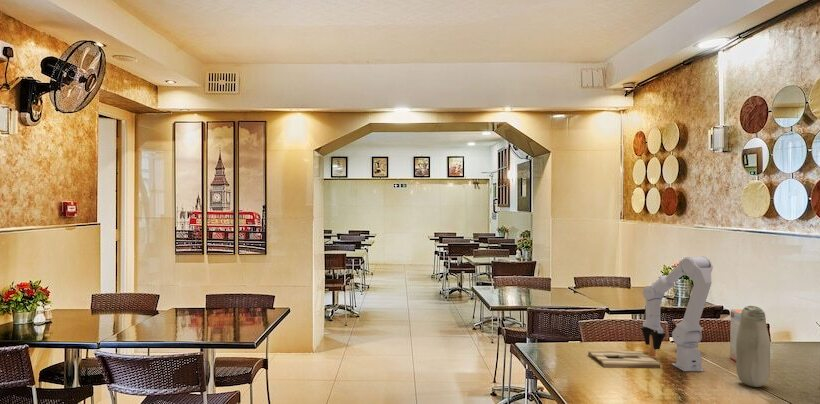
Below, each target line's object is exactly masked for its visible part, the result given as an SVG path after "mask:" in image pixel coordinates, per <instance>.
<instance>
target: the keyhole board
mask: <svg viewBox="0 0 820 404" xmlns="http://www.w3.org/2000/svg"><path fill="white" fill-rule="evenodd" d="M587 351H588V352H587V356H588V357H590V358H595V359H597V360H598V361H599V362H601V366H602V367H603V368H618V369H619V368H622V369H623V368H624V369H626V368H627V369H633V368H634V369H661V363H660V362H659V361H658V360H656V359H655V358H651V357H649V356H647V354H645V353H643V352H642V351H640V350H639V351H638V350H637V351H636V350H635V351H634V350H632V351H631V350H630V351H629V350H587Z"/></svg>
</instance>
